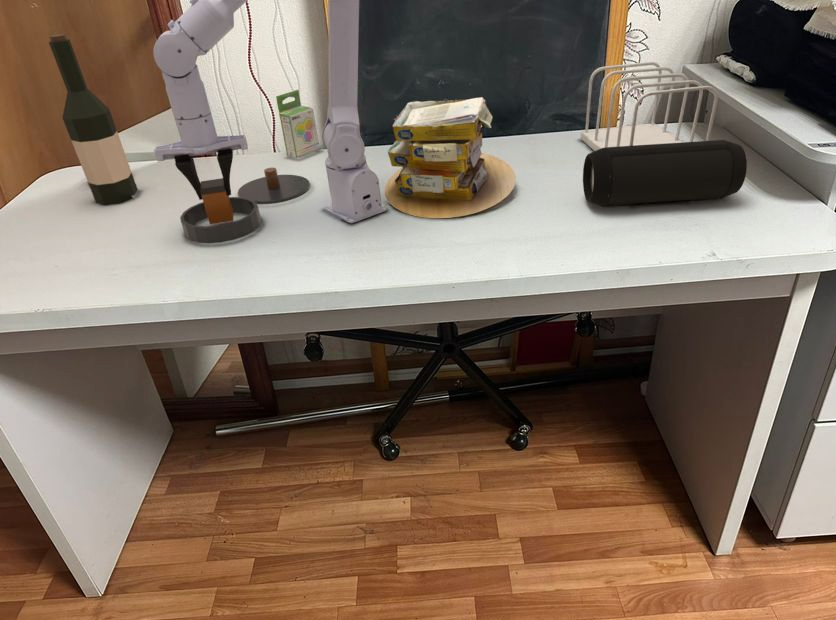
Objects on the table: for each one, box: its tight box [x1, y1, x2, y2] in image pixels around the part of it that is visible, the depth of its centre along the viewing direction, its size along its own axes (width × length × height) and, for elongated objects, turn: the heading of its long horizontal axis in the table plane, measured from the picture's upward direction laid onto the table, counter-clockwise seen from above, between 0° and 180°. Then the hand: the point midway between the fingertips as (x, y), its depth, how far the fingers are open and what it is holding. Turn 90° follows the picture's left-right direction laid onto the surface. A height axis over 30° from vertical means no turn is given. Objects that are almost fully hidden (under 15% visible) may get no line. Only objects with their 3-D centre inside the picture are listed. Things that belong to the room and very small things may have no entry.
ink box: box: [275, 89, 321, 159], centre depth 139 cm, size 7×4×13 cm, turn 143°
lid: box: [237, 167, 311, 205], centre depth 123 cm, size 14×14×5 cm
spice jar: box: [200, 177, 234, 225], centre depth 108 cm, size 4×4×6 cm
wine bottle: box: [48, 33, 138, 206], centre depth 119 cm, size 8×8×30 cm
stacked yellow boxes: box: [384, 96, 517, 219], centre depth 115 cm, size 25×25×17 cm
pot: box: [179, 196, 262, 244], centre depth 110 cm, size 13×13×3 cm
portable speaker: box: [582, 139, 748, 208], centre depth 108 cm, size 26×10×10 cm, turn 92°
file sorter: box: [580, 61, 719, 152], centre depth 126 cm, size 25×17×16 cm
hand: (215, 195), depth 108 cm, fingers closed on spice jar, 4 cm apart
